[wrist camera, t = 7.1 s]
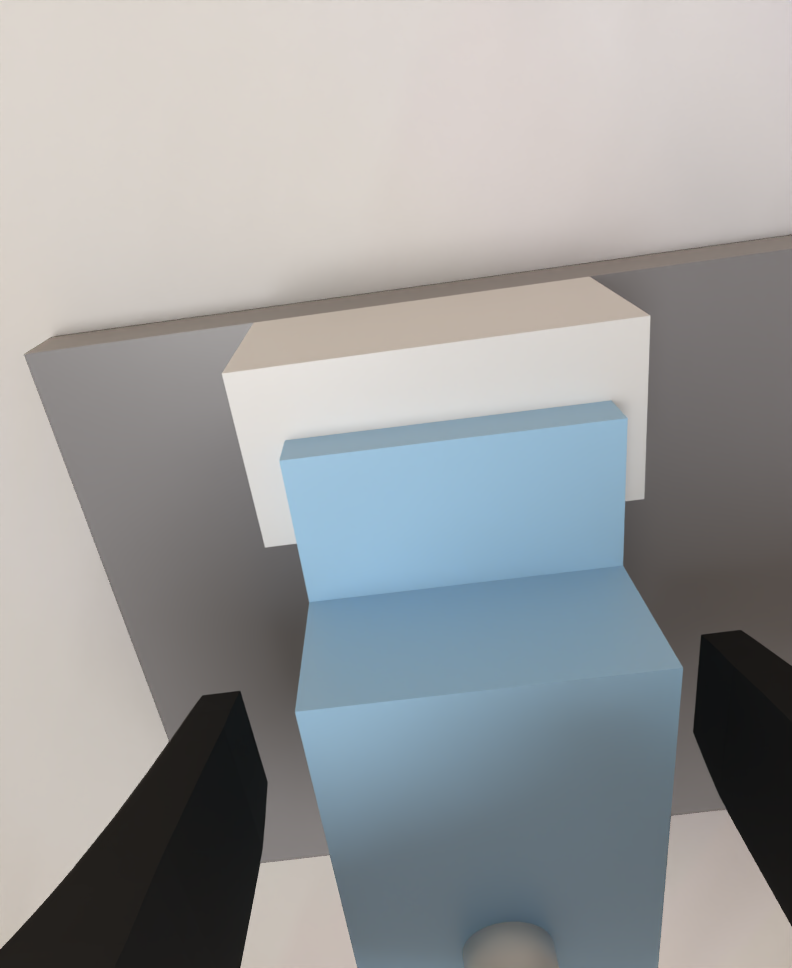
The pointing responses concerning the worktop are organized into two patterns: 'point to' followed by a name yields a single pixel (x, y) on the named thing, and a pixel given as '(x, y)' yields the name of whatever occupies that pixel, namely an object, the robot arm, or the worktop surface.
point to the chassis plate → (261, 591)
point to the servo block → (484, 692)
